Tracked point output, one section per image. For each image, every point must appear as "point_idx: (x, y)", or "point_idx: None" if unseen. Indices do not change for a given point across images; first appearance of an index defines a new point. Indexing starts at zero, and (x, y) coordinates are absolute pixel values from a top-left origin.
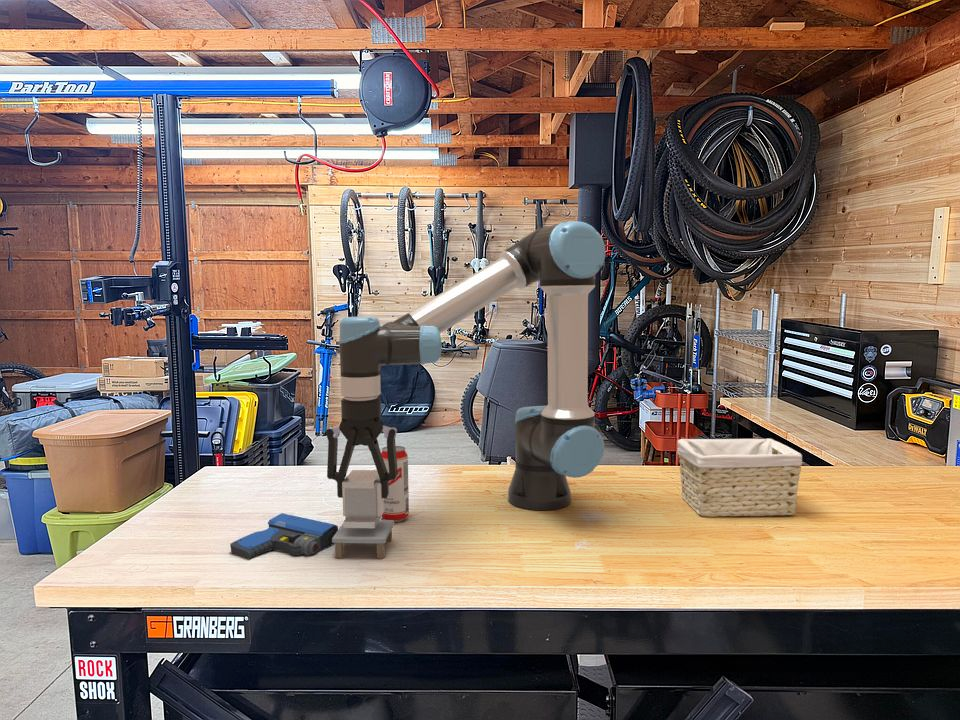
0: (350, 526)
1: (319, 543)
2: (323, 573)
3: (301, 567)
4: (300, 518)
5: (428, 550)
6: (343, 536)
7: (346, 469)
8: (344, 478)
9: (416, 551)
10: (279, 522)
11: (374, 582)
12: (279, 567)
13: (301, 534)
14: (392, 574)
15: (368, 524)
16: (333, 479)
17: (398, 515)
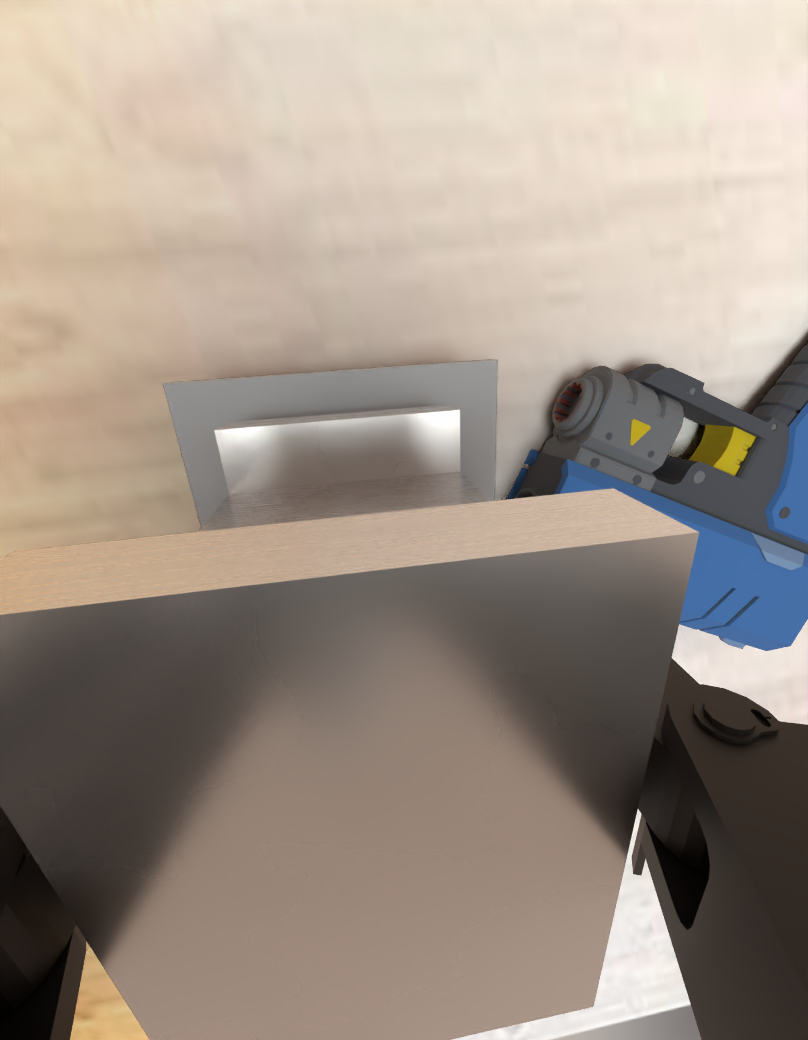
0: (402, 408)
1: (559, 448)
2: (462, 169)
3: (586, 242)
4: (704, 607)
5: (33, 510)
6: (438, 400)
7: (740, 985)
8: (645, 795)
9: (89, 491)
10: (789, 559)
11: (130, 42)
12: (686, 233)
13: (663, 489)
14: (76, 178)
15: (269, 424)
16: (798, 725)
17: None
